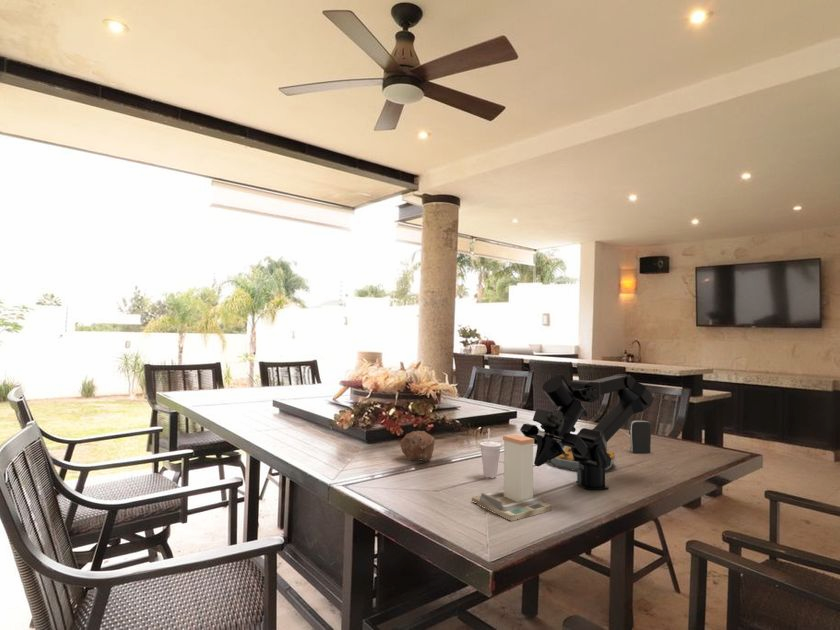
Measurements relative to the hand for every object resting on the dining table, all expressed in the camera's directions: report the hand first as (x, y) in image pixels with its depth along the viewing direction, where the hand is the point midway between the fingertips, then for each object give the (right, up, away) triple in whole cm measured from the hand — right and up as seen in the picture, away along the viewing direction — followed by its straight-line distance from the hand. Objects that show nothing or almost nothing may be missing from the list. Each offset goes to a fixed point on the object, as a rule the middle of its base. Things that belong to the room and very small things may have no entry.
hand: (536, 465), depth 120 cm
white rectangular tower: (-5, -7, -4) cm, 10 cm away
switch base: (-7, -8, -5) cm, 12 cm away
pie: (+23, -11, +35) cm, 44 cm away
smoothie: (-9, -10, +19) cm, 23 cm away
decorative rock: (-30, -10, +37) cm, 49 cm away
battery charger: (+50, -12, +52) cm, 73 cm away
